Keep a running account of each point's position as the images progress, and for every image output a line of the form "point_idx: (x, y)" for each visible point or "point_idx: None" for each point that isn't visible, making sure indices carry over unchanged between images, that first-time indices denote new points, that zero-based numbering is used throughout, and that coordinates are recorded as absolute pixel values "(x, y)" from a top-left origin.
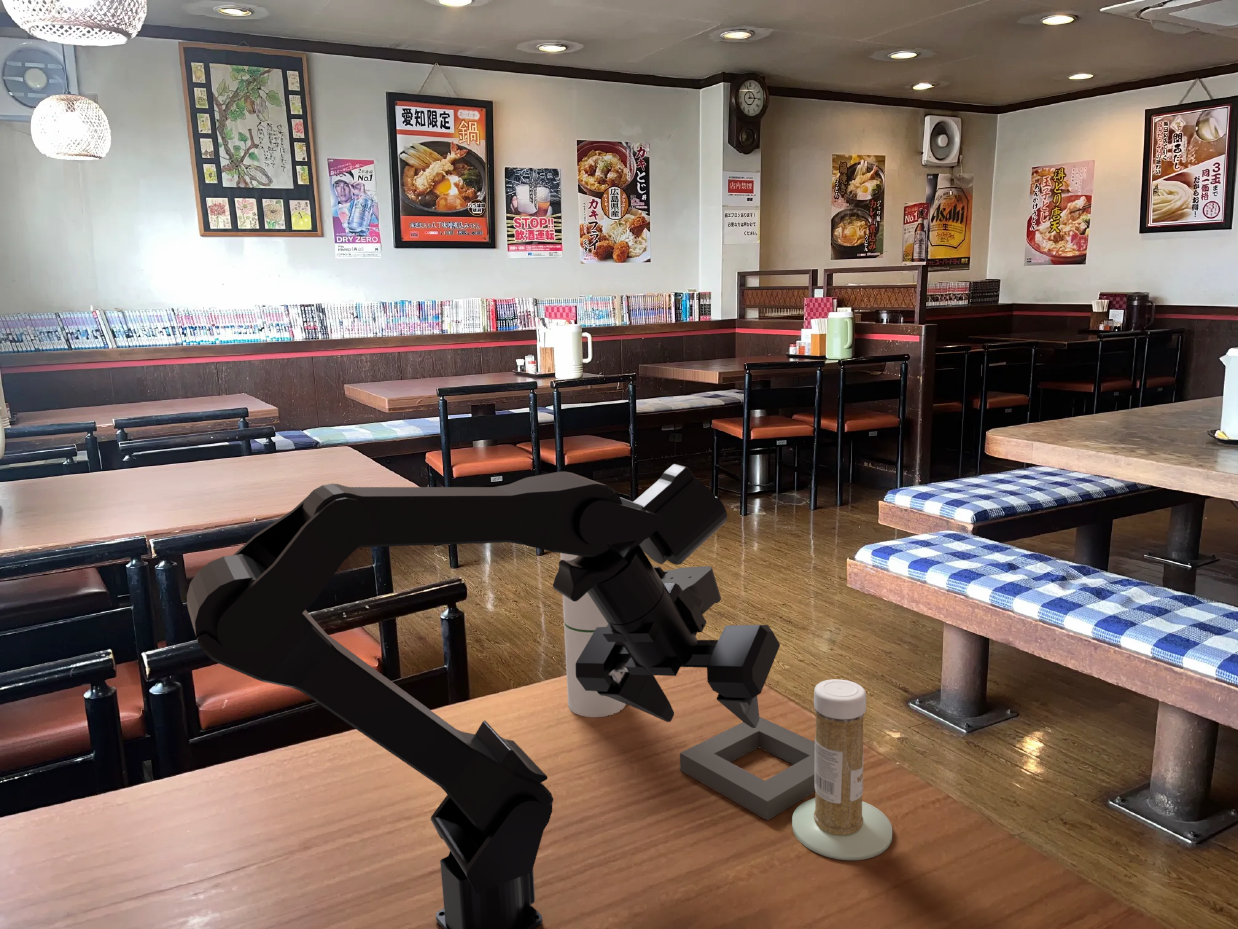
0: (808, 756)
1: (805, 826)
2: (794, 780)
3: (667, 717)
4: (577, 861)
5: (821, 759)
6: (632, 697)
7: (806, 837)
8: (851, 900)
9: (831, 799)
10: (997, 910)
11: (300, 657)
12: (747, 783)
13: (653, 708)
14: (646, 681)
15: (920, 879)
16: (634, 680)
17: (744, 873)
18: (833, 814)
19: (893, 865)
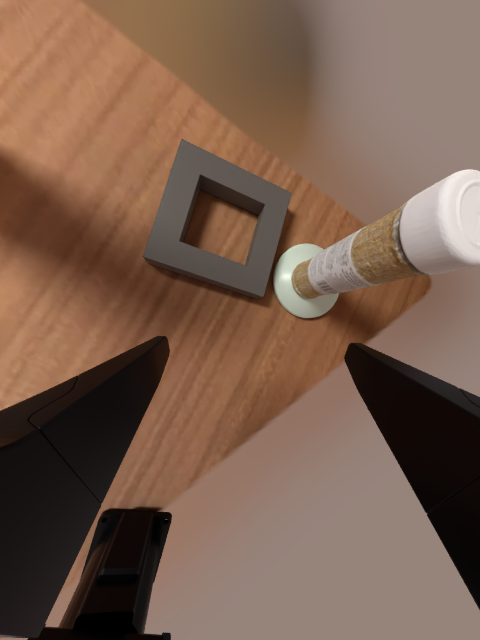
0: (264, 206)
1: (289, 297)
2: (269, 253)
3: (165, 362)
4: (146, 438)
5: (350, 284)
6: (85, 522)
7: (294, 310)
8: (334, 350)
9: (330, 294)
10: (395, 312)
11: None
12: (235, 278)
13: (141, 408)
14: (72, 454)
15: (359, 308)
16: (28, 547)
17: (269, 366)
18: (321, 295)
19: (344, 303)
